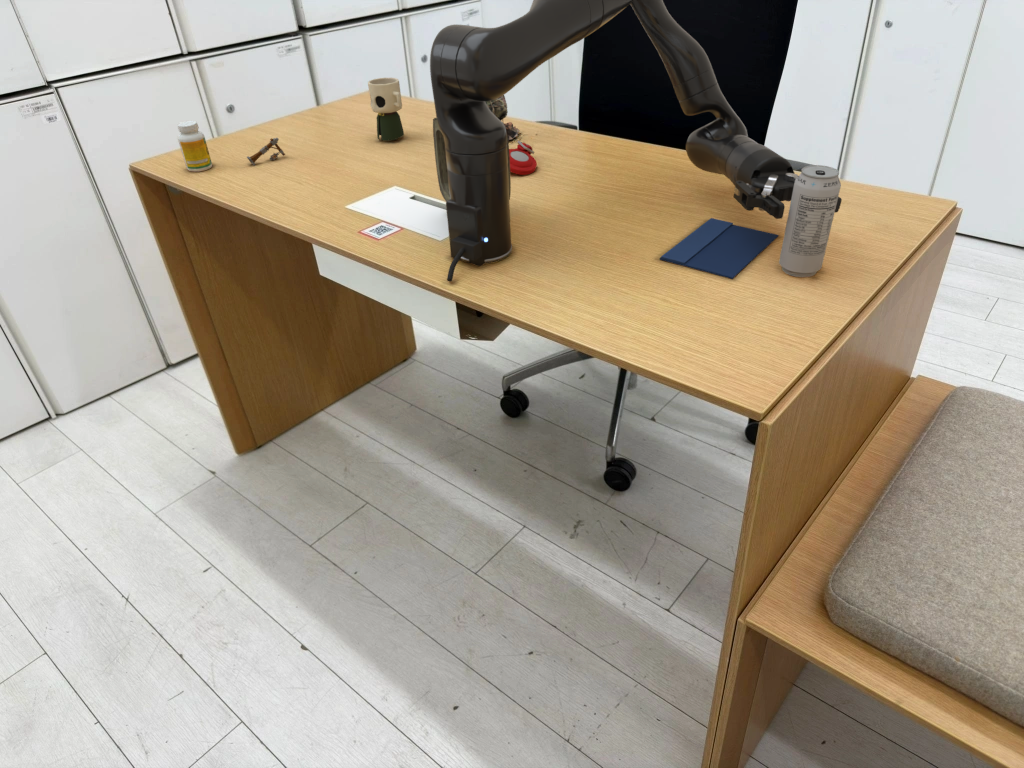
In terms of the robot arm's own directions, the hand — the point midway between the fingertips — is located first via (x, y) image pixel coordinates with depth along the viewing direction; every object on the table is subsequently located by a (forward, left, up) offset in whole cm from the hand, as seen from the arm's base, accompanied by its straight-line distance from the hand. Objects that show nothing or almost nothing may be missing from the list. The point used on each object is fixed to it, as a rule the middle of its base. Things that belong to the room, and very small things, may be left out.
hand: (809, 209), depth 101 cm
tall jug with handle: (-12, +53, -10) cm, 55 cm away
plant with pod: (+29, +80, -10) cm, 85 cm away
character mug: (+15, +102, -10) cm, 103 cm away
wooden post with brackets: (-11, +115, -10) cm, 116 cm away
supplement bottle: (-22, +124, -10) cm, 126 cm away
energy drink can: (0, 0, -10) cm, 10 cm away
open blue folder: (+1, +13, -9) cm, 16 cm away
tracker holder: (+15, +64, -10) cm, 66 cm away
